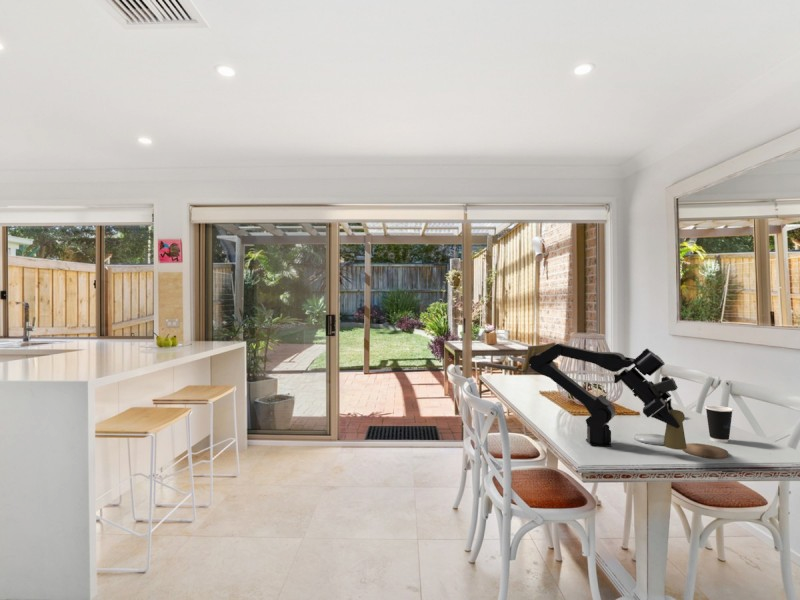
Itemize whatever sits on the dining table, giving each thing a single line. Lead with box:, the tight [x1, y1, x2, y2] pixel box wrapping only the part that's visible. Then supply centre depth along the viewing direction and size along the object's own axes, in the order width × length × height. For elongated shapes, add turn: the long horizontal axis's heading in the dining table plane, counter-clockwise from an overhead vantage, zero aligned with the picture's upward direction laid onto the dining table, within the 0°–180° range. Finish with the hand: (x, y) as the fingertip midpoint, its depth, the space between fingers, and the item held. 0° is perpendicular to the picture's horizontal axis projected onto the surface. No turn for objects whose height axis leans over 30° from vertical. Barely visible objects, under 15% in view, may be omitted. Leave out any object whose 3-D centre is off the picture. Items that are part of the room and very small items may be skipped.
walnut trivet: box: [682, 442, 729, 460], centre depth 142 cm, size 12×12×1 cm
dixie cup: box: [704, 405, 734, 444], centre depth 155 cm, size 8×8×11 cm
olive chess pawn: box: [663, 409, 687, 451], centre depth 139 cm, size 6×6×11 cm
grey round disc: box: [633, 432, 665, 446], centre depth 155 cm, size 12×12×1 cm
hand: (679, 425), depth 138 cm, fingers closed on olive chess pawn, 5 cm apart
